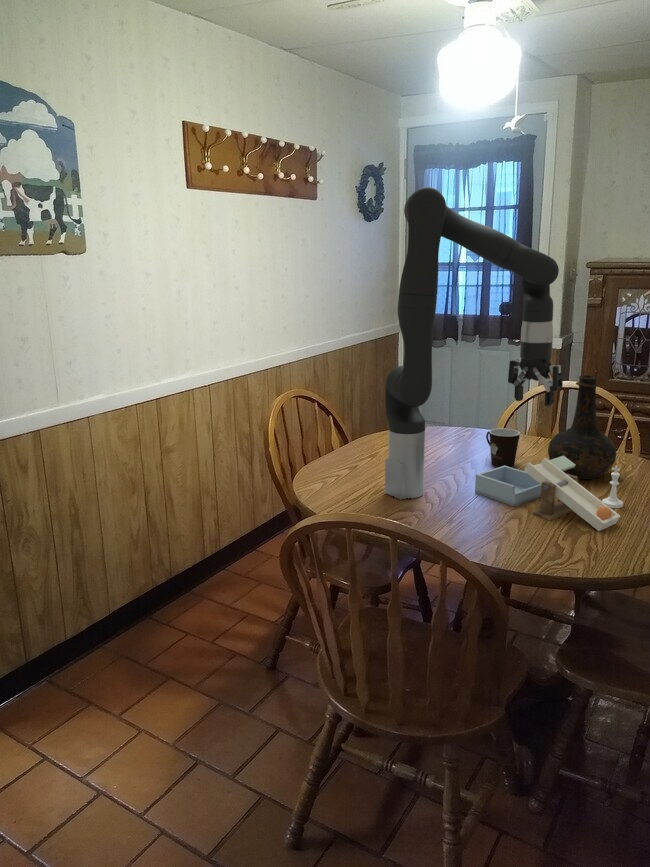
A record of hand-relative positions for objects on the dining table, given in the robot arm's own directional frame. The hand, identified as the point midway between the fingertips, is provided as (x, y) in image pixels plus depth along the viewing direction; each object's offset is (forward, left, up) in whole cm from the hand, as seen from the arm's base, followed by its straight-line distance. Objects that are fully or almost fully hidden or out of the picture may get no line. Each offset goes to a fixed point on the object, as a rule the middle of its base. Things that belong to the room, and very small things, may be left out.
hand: (533, 403), depth 168 cm
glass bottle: (+22, -1, -24) cm, 32 cm away
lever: (-1, -16, -19) cm, 25 cm away
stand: (-6, -13, -24) cm, 28 cm away
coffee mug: (+13, +19, -24) cm, 33 cm away
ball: (-6, -25, -20) cm, 33 cm away
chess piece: (+8, -19, -24) cm, 32 cm away
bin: (-6, +1, -24) cm, 24 cm away
